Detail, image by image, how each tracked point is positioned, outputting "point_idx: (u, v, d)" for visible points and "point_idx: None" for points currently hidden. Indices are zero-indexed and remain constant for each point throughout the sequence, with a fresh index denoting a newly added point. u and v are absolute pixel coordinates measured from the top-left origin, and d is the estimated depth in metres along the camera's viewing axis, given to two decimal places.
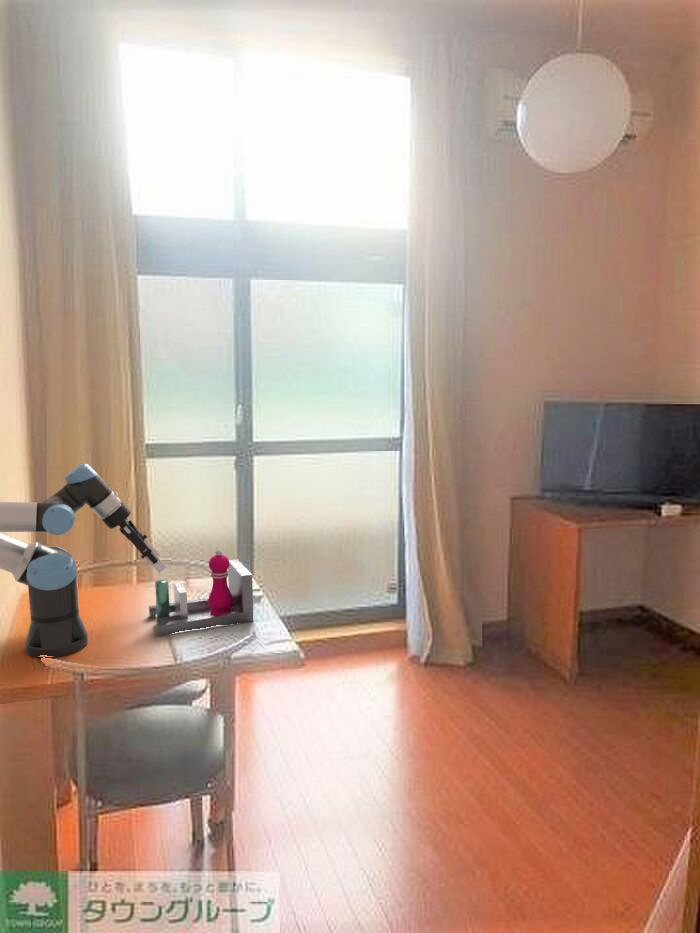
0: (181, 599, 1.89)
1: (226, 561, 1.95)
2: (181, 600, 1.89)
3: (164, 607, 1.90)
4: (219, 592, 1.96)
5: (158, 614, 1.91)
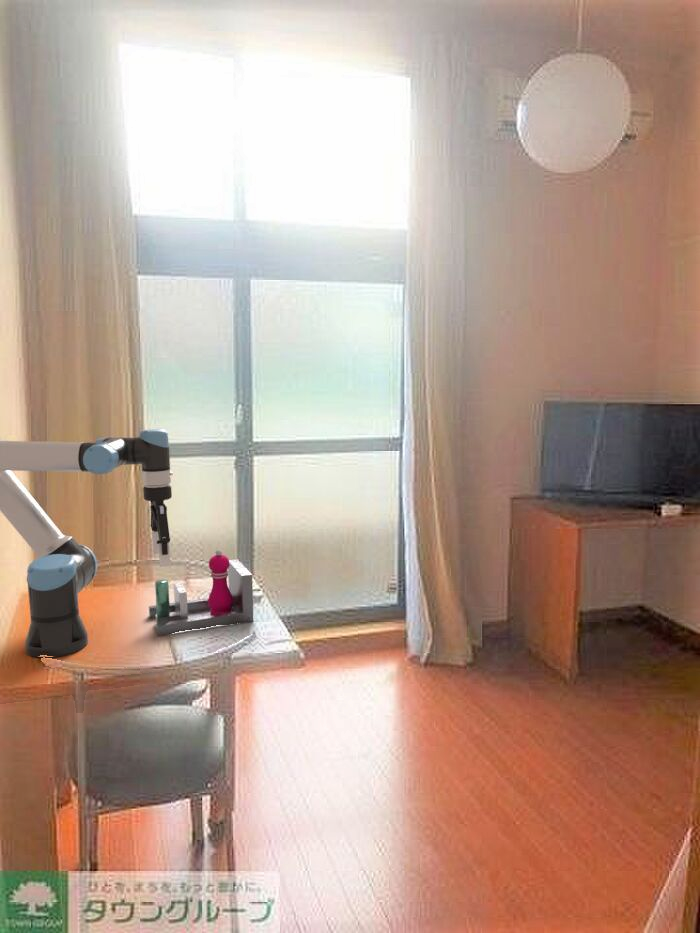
0: (181, 599, 1.89)
1: (226, 561, 1.95)
2: (181, 600, 1.89)
3: (164, 607, 1.90)
4: (219, 592, 1.96)
5: (158, 614, 1.91)
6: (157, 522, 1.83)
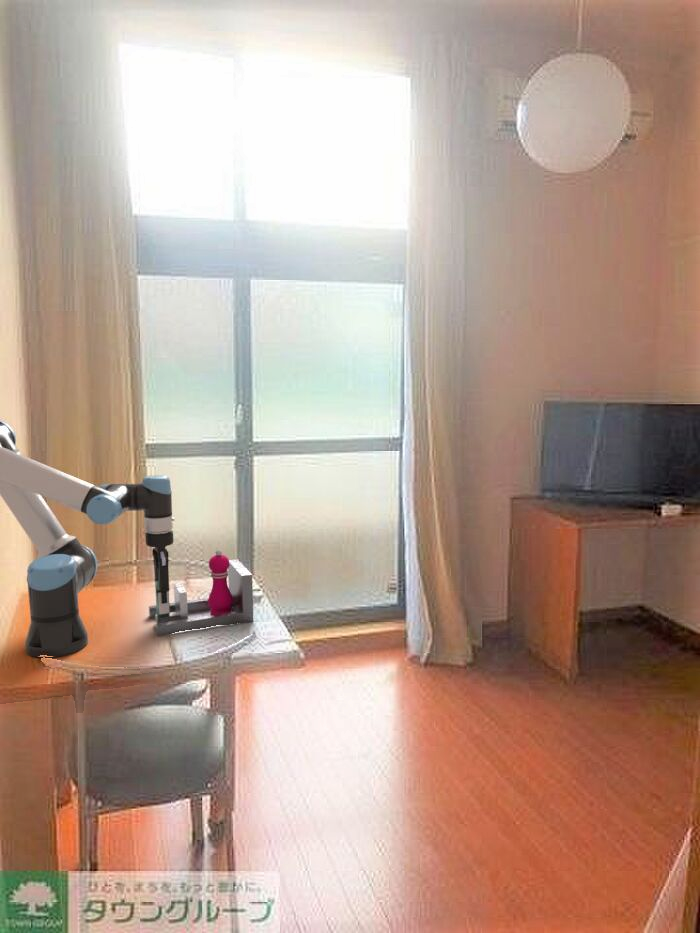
0: (181, 599, 1.89)
1: (226, 561, 1.95)
2: (181, 600, 1.89)
3: None
4: (219, 592, 1.96)
5: (158, 614, 1.91)
6: (158, 571, 1.87)
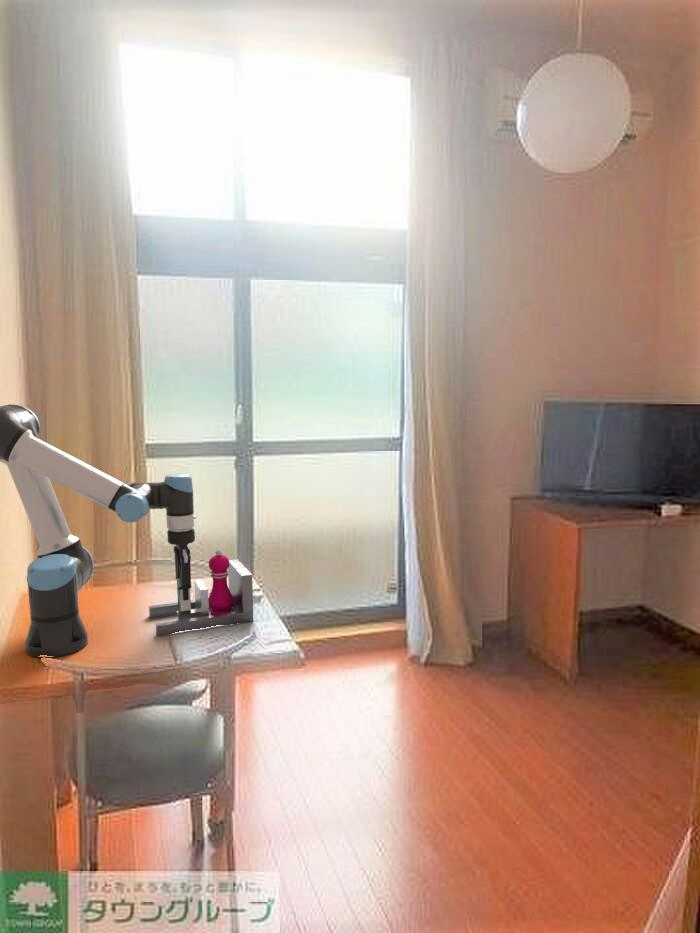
0: (202, 596, 1.91)
1: (226, 561, 1.95)
2: (202, 597, 1.91)
3: None
4: (219, 592, 1.96)
5: (179, 611, 1.93)
6: (180, 568, 1.90)
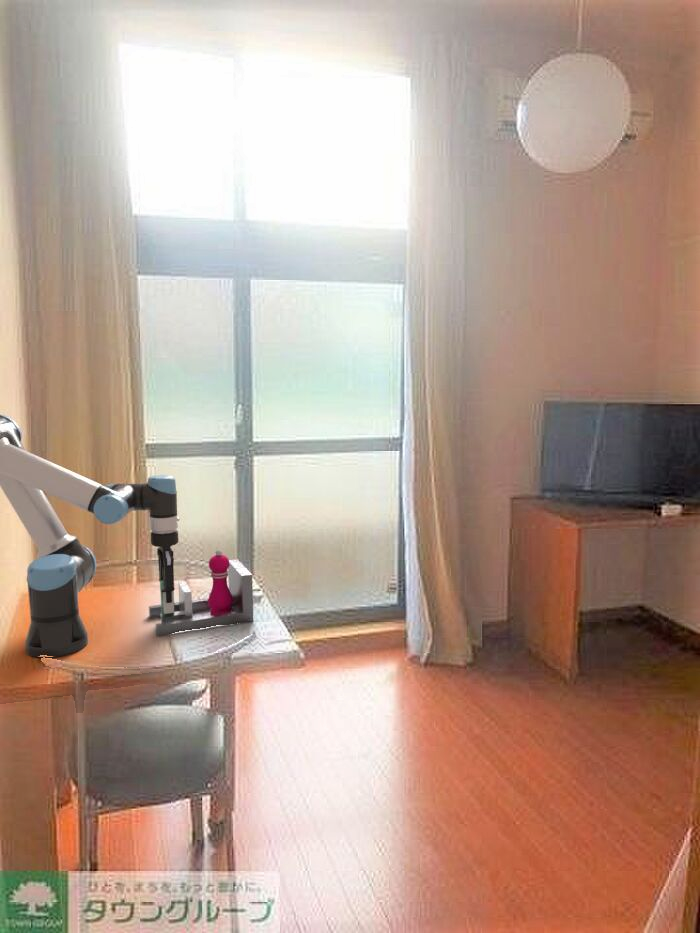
0: (186, 598, 1.89)
1: (226, 561, 1.95)
2: (186, 599, 1.89)
3: None
4: (219, 592, 1.96)
5: (163, 613, 1.91)
6: (163, 570, 1.88)
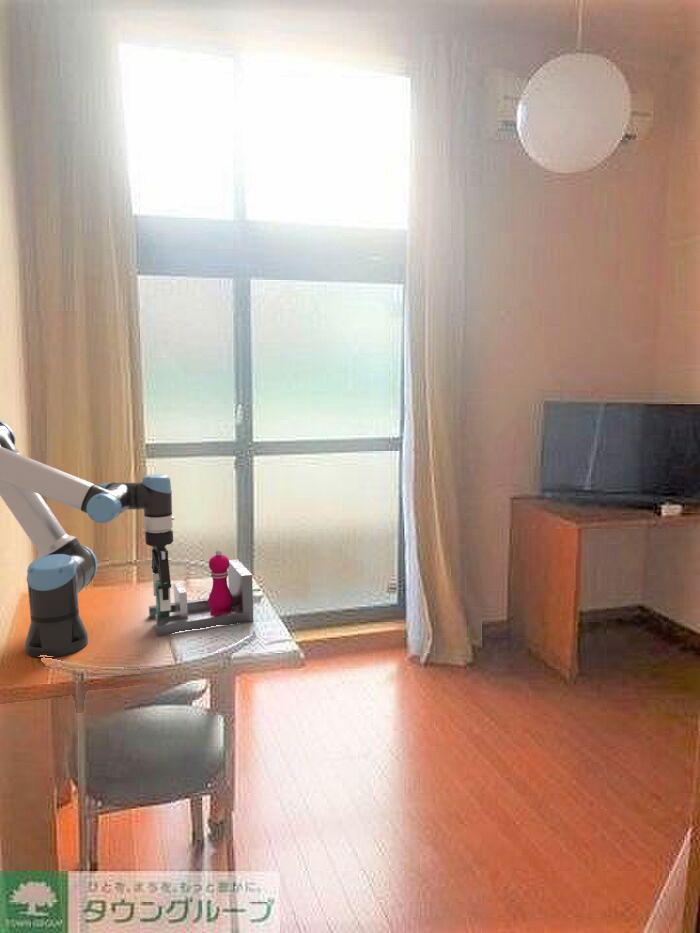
0: (181, 599, 1.89)
1: (226, 561, 1.95)
2: (181, 600, 1.89)
3: None
4: (219, 592, 1.96)
5: (158, 614, 1.91)
6: (158, 567, 1.85)
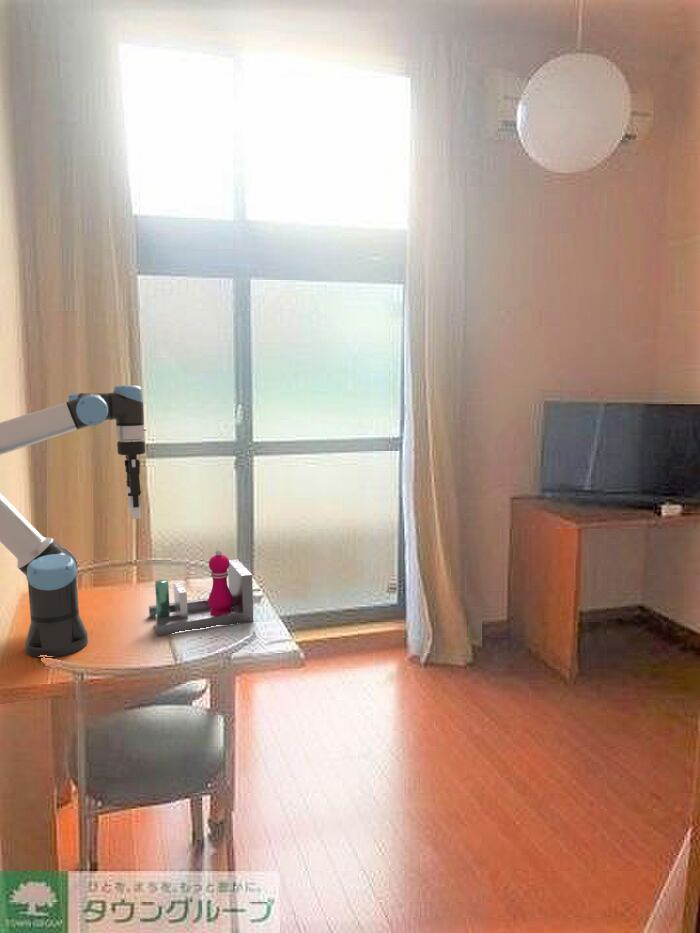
0: (181, 599, 1.89)
1: (226, 561, 1.95)
2: (181, 600, 1.89)
3: (164, 607, 1.90)
4: (219, 592, 1.96)
5: (158, 614, 1.91)
6: (129, 476, 1.88)
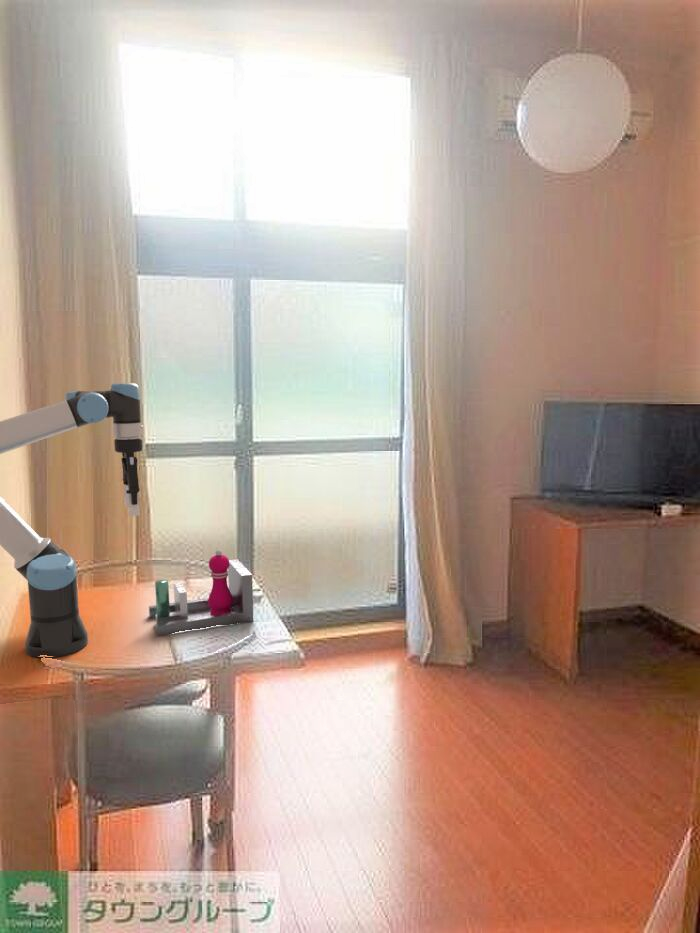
0: (181, 599, 1.89)
1: (226, 561, 1.95)
2: (181, 600, 1.89)
3: (164, 607, 1.90)
4: (219, 592, 1.96)
5: (158, 614, 1.91)
6: (127, 473, 1.88)
